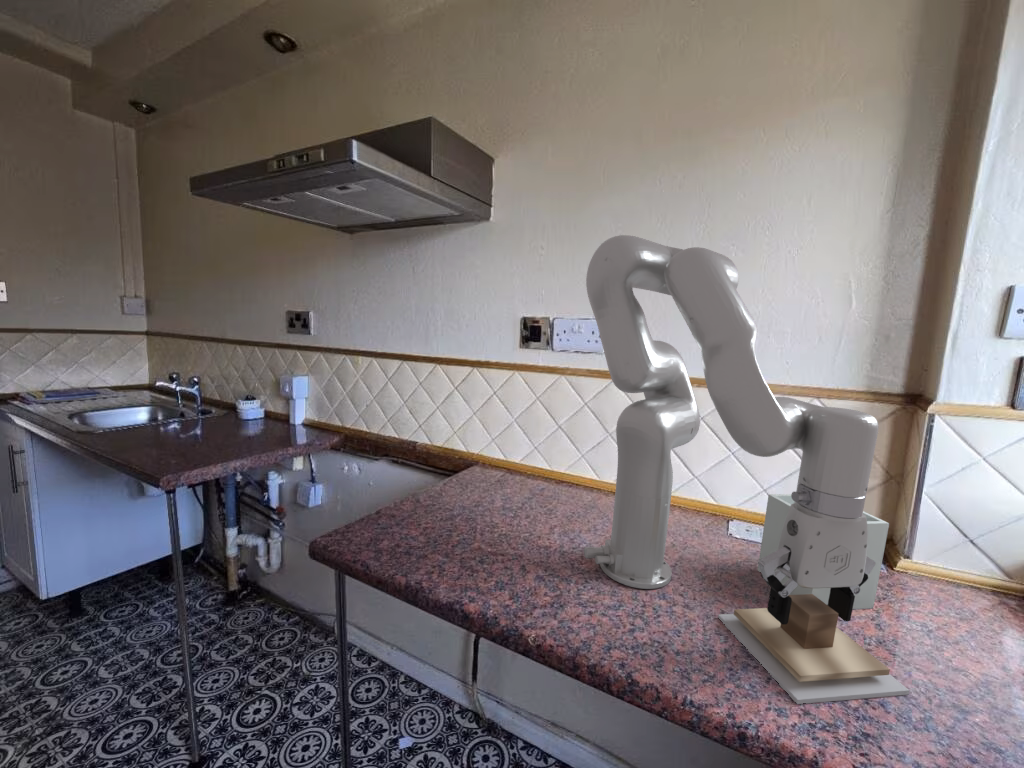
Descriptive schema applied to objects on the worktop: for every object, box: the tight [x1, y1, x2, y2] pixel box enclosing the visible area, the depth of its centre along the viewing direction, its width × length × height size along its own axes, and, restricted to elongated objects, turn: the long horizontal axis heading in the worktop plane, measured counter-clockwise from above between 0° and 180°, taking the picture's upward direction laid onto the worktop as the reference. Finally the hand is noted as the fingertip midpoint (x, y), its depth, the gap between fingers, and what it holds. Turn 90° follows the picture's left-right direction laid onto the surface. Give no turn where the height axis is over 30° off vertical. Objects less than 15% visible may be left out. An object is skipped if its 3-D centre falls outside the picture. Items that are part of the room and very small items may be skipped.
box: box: [757, 493, 890, 610], centre depth 80 cm, size 12×12×15 cm
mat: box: [717, 613, 910, 705], centre depth 64 cm, size 16×16×1 cm
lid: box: [733, 594, 891, 682], centre depth 64 cm, size 13×13×7 cm
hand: (808, 616), depth 63 cm, fingers open, 9 cm apart
